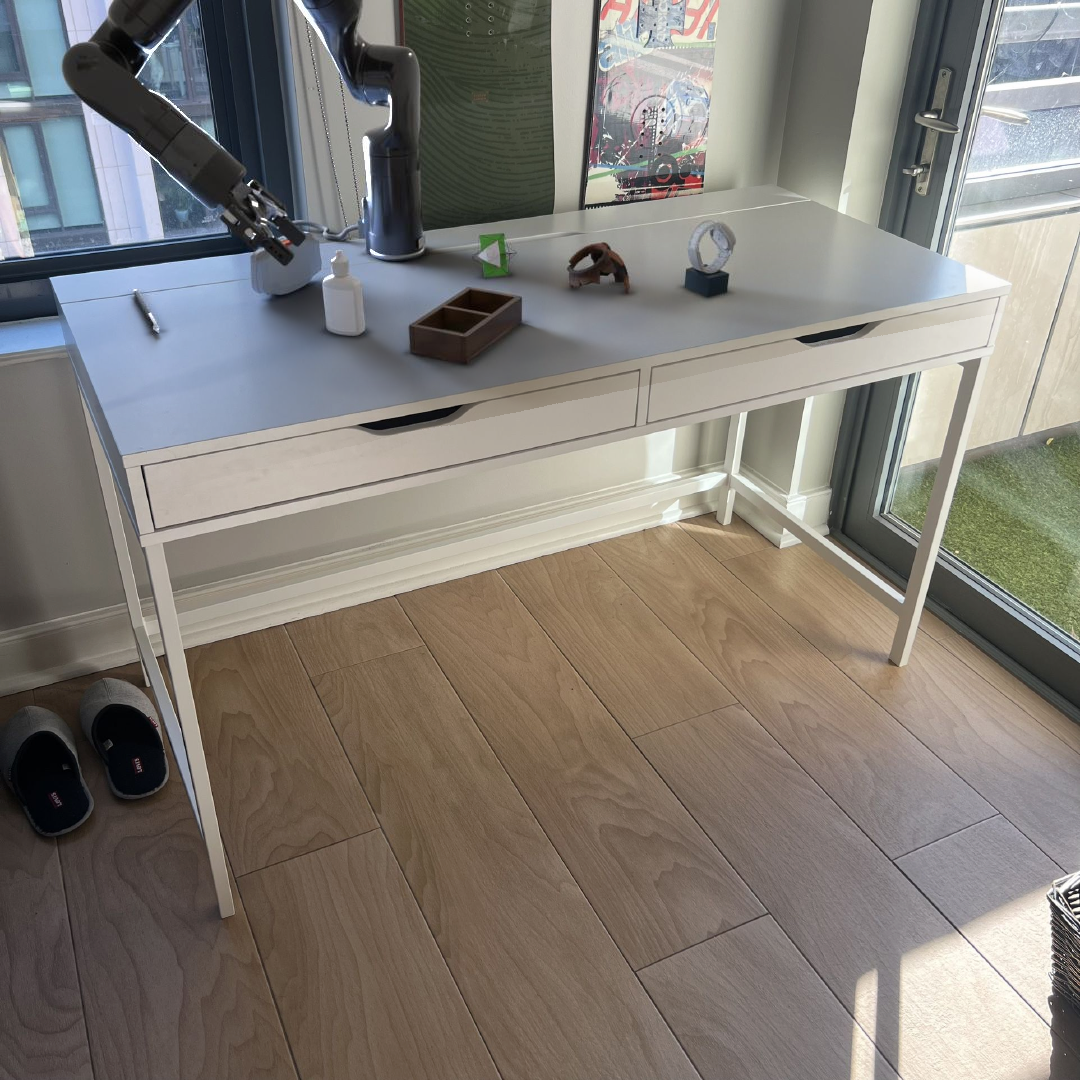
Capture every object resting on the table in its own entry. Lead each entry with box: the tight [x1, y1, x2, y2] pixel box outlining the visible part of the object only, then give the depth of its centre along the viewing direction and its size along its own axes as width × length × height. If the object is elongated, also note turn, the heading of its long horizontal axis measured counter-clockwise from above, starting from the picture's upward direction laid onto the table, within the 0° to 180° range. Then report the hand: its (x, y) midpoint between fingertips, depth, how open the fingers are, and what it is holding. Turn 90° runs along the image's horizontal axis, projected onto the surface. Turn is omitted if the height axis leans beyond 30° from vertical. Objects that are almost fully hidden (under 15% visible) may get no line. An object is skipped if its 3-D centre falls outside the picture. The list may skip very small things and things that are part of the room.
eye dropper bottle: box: [322, 249, 366, 337], centre depth 152 cm, size 4×6×12 cm
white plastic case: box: [250, 231, 323, 296], centre depth 168 cm, size 14×3×8 cm, turn 150°
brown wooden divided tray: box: [408, 286, 523, 365], centre depth 153 cm, size 9×17×4 cm, turn 155°
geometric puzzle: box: [470, 232, 518, 278], centre depth 175 cm, size 7×7×8 cm
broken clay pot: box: [566, 241, 631, 294], centre depth 171 cm, size 12×10×8 cm
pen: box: [133, 288, 160, 333], centre depth 160 cm, size 1×19×1 cm, turn 28°
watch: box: [683, 219, 737, 298], centre depth 169 cm, size 6×8×11 cm
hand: (296, 251), depth 149 cm, fingers open, 8 cm apart
